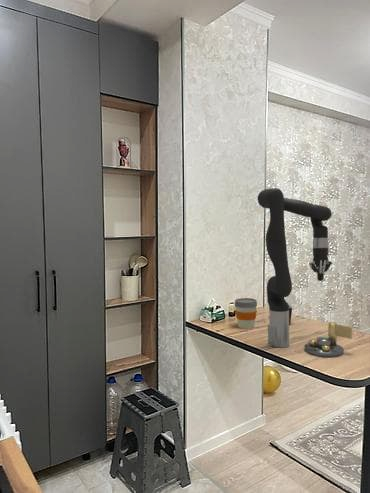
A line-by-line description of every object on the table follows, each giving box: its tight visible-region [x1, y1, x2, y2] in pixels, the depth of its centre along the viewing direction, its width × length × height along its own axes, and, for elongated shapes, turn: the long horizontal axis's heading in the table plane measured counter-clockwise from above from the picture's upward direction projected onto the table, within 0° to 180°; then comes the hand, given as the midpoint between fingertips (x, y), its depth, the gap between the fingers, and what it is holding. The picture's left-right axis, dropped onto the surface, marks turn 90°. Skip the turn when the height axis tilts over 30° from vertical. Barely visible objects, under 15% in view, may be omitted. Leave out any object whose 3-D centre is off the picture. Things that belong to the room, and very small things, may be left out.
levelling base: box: [303, 335, 345, 358], centre depth 179 cm, size 17×17×6 cm
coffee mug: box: [289, 305, 293, 326], centre depth 226 cm, size 12×9×10 cm
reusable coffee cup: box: [234, 297, 258, 330], centre depth 221 cm, size 13×13×15 cm
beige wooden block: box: [327, 321, 353, 347], centre depth 178 cm, size 11×4×10 cm, turn 41°
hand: (320, 280), depth 198 cm, fingers closed
